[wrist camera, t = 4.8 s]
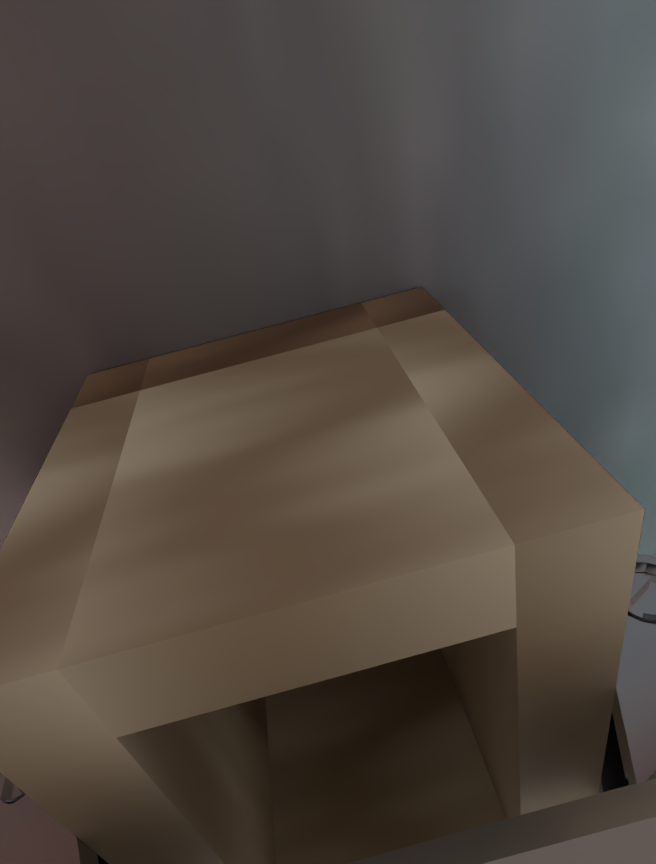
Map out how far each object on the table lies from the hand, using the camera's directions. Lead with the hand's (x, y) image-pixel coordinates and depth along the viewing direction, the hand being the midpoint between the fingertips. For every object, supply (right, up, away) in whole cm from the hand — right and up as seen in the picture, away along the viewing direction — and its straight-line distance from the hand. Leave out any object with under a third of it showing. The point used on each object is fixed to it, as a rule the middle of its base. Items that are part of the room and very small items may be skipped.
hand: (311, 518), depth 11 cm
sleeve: (0, 0, 0) cm, 1 cm away
